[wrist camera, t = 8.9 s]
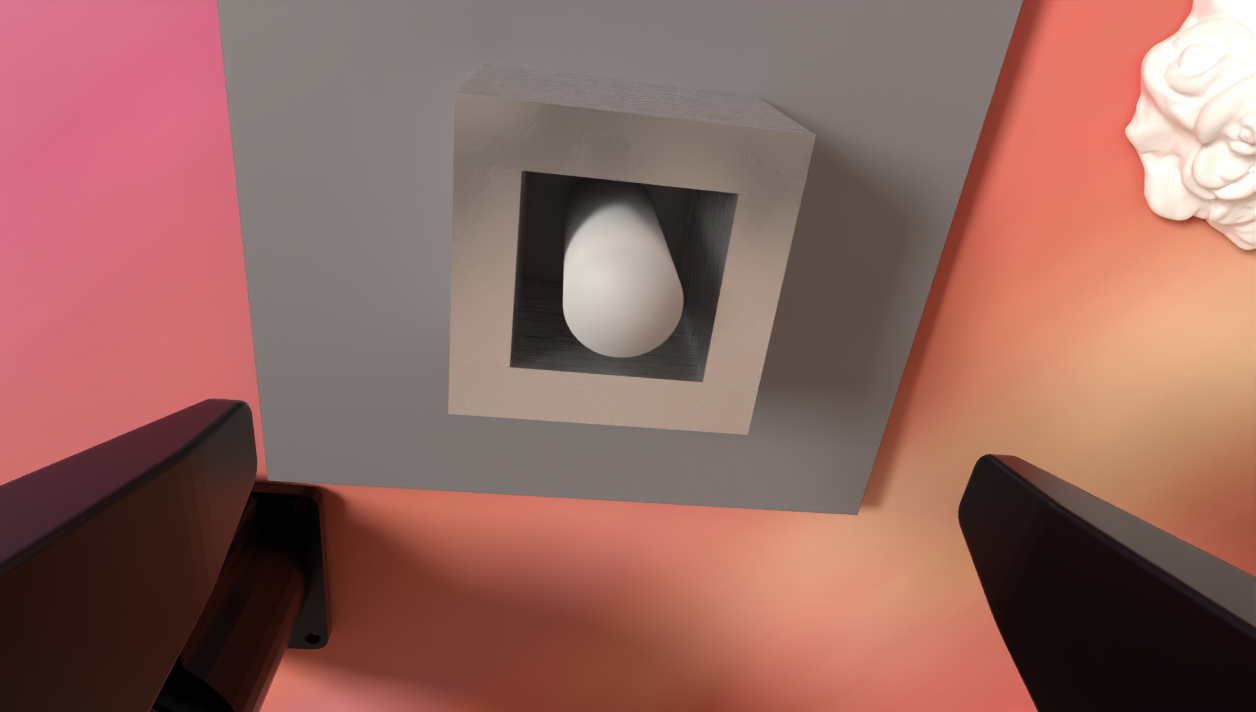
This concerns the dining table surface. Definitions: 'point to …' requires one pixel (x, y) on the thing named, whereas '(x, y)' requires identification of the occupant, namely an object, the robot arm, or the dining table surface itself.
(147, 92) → the dining table surface
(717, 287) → the grey hollow square block
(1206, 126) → the cherub figurine
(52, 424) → the dining table surface
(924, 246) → the post plate
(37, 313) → the dining table surface
